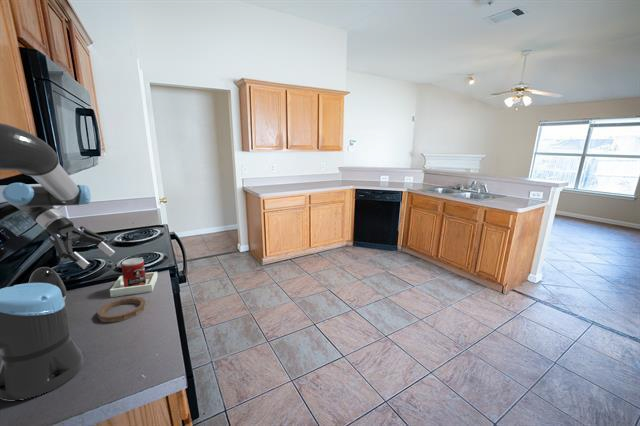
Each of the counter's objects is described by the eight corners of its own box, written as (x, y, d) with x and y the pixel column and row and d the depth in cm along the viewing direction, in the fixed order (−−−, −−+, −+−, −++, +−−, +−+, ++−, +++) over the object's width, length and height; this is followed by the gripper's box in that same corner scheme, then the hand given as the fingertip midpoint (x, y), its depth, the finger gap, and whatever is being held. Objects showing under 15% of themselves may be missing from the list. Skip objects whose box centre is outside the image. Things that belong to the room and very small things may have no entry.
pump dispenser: (39, 317, 93) (31, 275, 90) (22, 311, 96) (13, 270, 93) (75, 303, 102) (68, 264, 99) (58, 298, 106) (51, 260, 103)
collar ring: (140, 317, 94) (140, 312, 94) (92, 325, 89) (91, 320, 89) (148, 299, 106) (148, 294, 106) (106, 305, 101) (105, 300, 101)
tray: (152, 291, 112) (151, 284, 111) (110, 297, 107) (109, 290, 106) (157, 277, 125) (157, 271, 124) (120, 282, 119) (120, 276, 119)
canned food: (128, 291, 110) (125, 265, 108) (121, 286, 115) (118, 261, 113) (149, 285, 116) (147, 260, 114) (141, 280, 121) (139, 256, 119)
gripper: (76, 223, 120) (116, 255, 123) (16, 238, 96) (67, 278, 99) (87, 211, 119) (126, 244, 122) (29, 223, 95) (80, 264, 98)
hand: (100, 259), depth 111 cm, fingers open, 13 cm apart
